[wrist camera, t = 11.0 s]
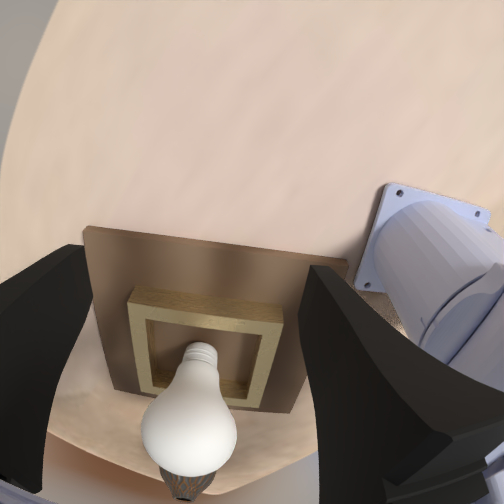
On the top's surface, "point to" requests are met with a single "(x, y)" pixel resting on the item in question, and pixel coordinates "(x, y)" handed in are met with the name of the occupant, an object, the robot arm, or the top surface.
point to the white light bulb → (191, 418)
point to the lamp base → (204, 283)
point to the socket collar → (206, 316)
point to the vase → (186, 485)
